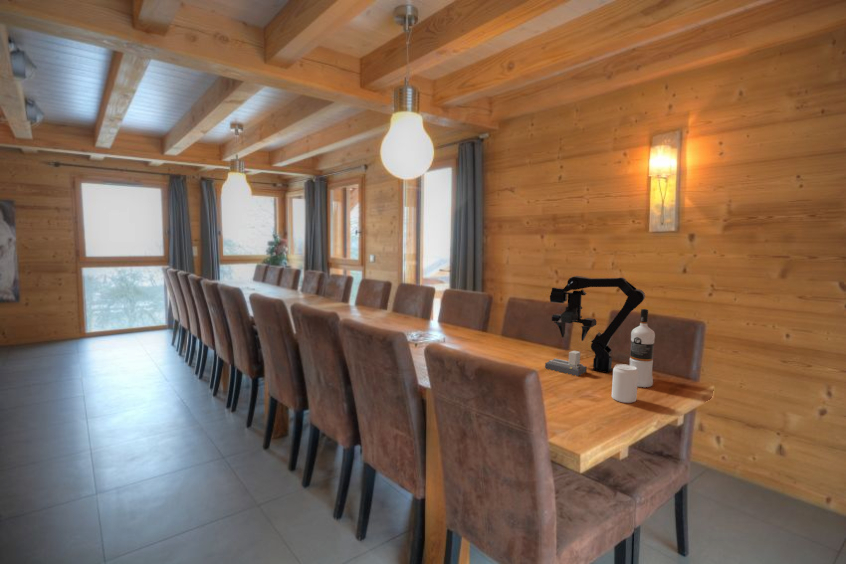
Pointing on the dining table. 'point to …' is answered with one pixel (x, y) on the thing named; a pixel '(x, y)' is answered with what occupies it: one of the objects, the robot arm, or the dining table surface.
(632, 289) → the robot arm
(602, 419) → the dining table surface
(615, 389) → the white cylinder
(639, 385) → the vodka
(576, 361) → the fader tab
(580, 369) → the fader console
